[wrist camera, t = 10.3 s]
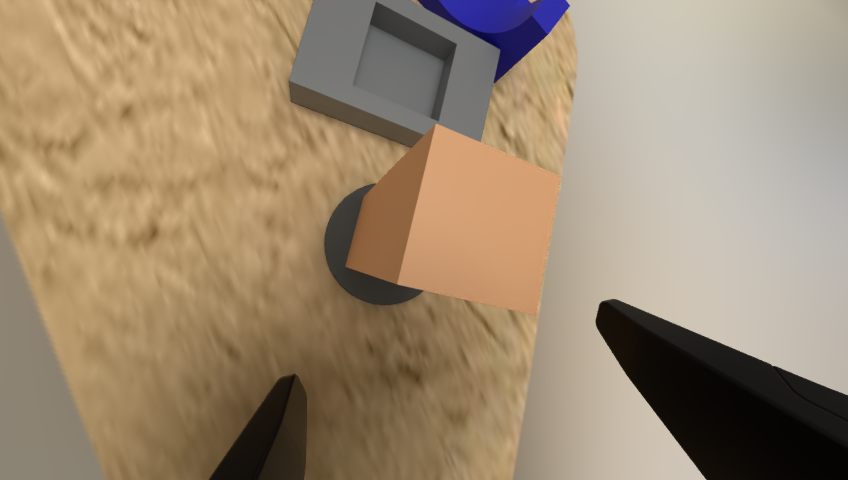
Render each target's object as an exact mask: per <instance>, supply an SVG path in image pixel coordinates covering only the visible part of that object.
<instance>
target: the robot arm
mask: <svg viewBox="0 0 848 480" xmlns="http://www.w3.org/2000/svg"><path fill="white" fill-rule="evenodd" d="M596 326H597V329H598V330H599V332H600V334H601V335H602V337H603V338H604V340H605V342H606V343H607V345H608V346H609V348H610V349H611V351H612V353H613V354H614V356H615V358H616V359H617V361H618V362H619V364H620V366H621V367H622V368H623V370H624V372H625V373H626V375H627V376H628V377H629V379H630V380H631V381H632V383H633V384H634V385H635V386H636V388H637V389H638V391H639V392H640V393H641V395H642V396H643V397H644V398H645V400H646V401H647V403H648V404H649V405H650V406H651V408H652V409H653V410H654V412H655V413H656V414H657V416H658V417H659V418H660V420H661V421H662V422H663V423H664V425H665V426H666V427H667V429H668V430H669V431H670V433H671V434H672V435H673V436H674V438H675V439H676V441H677V442H678V443H679V444H680V446H681V447H682V448H683V450H684V451H685V452H686V453H687V455H688V456H689V458H690V459H691V460H692V461H693V463H694V464H695V465H696V467H697V468H698V469H699V471H700V472H701V473H702V475H703V476H704V477H705V479H706V480H848V395H845V394H843V393H840V392H838V391H835V390H832V389H830V388H827V387H825V386H822V385H820V384H817V383H815V382H812V381H810V380H807V379H805V378H803V377H800V376H798V375H795V374H793V373H790V372H788V371H785V370H783V369H781V368H779V367H776V366H772V365H771V364H769V363H767V362H764V361H762V360H759V359H757V358H755V357H752V356H750V355H747V354H745V353H742V352H740V351H738V350H736V349H733V348H731V347H728V346H726V345H723V344H721V343H719V342H717V341H714V340H712V339H709V338H707V337H704V336H702V335H700V334H697V333H695V332H693V331H690V330H688V329H685V328H683V327H681V326H678V325H676V324H673V323H671V322H669V321H667V320H664V319H662V318H659V317H657V316H655V315H652V314H650V313H647V312H645V311H643V310H640V309H638V308H636V307H633V306H631V305H628V304H626V303H624V302H621V301H619V300H616V299H611V300H606V301H602V302H601V303H600V304H599V308H598V313H597V317H596ZM306 428H307V396H306V392H305V390H304V388H303V386H302V384H301V381H300V379H299V377H298V376H297V375H296V374H292V375H287V376H283V377H281V378H280V379H278V381H277V382H276V384H275V385H274V386H273V388H272V389H271V391H270V392H269V394H268V395H267V397H266V398H265V399H264V401H263V402H262V404H261V405H260V407H259V408H258V409H257V411H256V412H255V414H254V415H253V417H252V418H251V419H250V421H249V422H248V424H247V425H246V427H245V428H244V429H243V431H242V432H241V434H240V435H239V437H238V438H237V440H236V441H235V442H234V444H233V445H232V447H231V448H230V450H229V451H228V452H227V454H226V455H225V457H224V458H223V460H222V461H221V462H220V464H219V465H218V467H217V468H216V470H215V471H214V473H213V474H212V475H211V477H210V478H209V480H304V474H305V464H306Z"/></svg>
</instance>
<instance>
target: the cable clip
mask: <svg viewBox="0 0 848 480" xmlns="http://www.w3.org/2000/svg"><path fill="white" fill-rule="evenodd" d="M418 1H419V2H420V3H421V4H422V5H423V6H424V7H425V8H426V9H427V10H429V11H431V12H432V13H434V14H436V15H438V16H440V17H442V18H443V19H445V20H447V21H449V22H451V23H453V24H454V25H456V26H458V27H460V28H462V29H463V30H465V31H467V32H469V33H471V34H473V35H474V36H476V37H478V38H480V39H482V40H484V41H485V42H487V43H489V44H491V45H493V46H494V47H496V48H498V49H500V55H499V59H498V64H497V69H496V73H495V78H494V83H495V82H496V81H497V80H499V79H500V78H501V77H502V76H503V75H504V74H505V73H506V72H507V71H508V70H510V69H511V68H512V67H513V66H514V65H515V64H516V63H517V62H518V61H519V60H521V59H522V58H523V57H524V56H525V55H526V54H527V53H528V52H529V51H530V50H532V49H533V48H534V47H535V46H536V45H537V44H538V43H539V42H540V41H541V40H542V39H544V38H545V37H546V36H547V35H548V34H549V32H550V31H551V30H552V28H553V27H554V26H555V25H556V23H557V22H558V21H559V19H560V18H561V17H562V15H563V14H564V13H565V11H566V10H567V9H568V8H569V6H570V5H569V4H568V3H567V1H566V0H537V1H535V2H533V3H530V2H529V1H528V0H418Z"/></svg>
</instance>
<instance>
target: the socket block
mask: <svg viewBox="0 0 848 480" xmlns="http://www.w3.org/2000/svg"><path fill="white" fill-rule="evenodd" d="M499 55H500V49H498V48H496V47H494V46H493V45H491V44H489V43H487V42H485V41H484V40H482V39H480V38H478V37H476V36H474V35H473V34H471V33H469V32H467V31H465V30H463V29H462V28H460V27H458V26H456V25H454V24H453V23H451V22H449V21H447V20H445V19H443V18H442V17H440V16H438V15H436V14H434V13H432V12H431V11H429V10H427V9H425V8H423V7H421V6H420V5H418V4H416V3H414V2H412V1H411V0H314V1H313V4H312V7H311V10H310V13H309V17H308V20H307V23H306V26H305V30H304V33H303V36H302V39H301V43H300V46H299V49H298V52H297V56H296V59H295V62H294V65H293V69H292V72H291V75H290V78H289V87H290V97H291V102H293V103H296V104H299V105H301V106H304V107H307V108H309V109H312V110H314V111H317V112H320V113H322V114H325V115H328V116H330V117H333V118H335V119H338V120H341V121H343V122H346V123H349V124H351V125H354V126H356V127H359V128H362V129H364V130H367V131H370V132H372V133H375V134H377V135H380V136H383V137H385V138H388V139H391V140H393V141H396V142H399V143H401V144H404V145H406V146H409V147H413V146H414V145H415V144H416V143H417V142H418V141H419V140H420V139H421V138H422V137H423V136H424V135H425V134H426V133H427V132H428V131H429V130H430V129H431V128H432V127H433V126H434V125H435V124H438V125H441V126H443V127H446V128H448V129H450V130H453V131H455V132H457V133H460V134H462V135H464V136H467V137H469V138H472V139H474V140H476V141H479V142H481V138H482V133H483V129H484V124H485V120H486V115H487V110H488V106H489V101H490V96H491V92H492V87H493V83H494V78H495V73H496V69H497V64H498V59H499Z"/></svg>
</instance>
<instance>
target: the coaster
mask: <svg viewBox="0 0 848 480" xmlns="http://www.w3.org/2000/svg"><path fill="white" fill-rule="evenodd" d="M376 184H377V183H376ZM376 184H371V185H367V186H364V187H362V188H360V189H357V190H356V191H354V192H353V193H351V194H350V195H348V196H347V197H346V198H345V199H344V200H343V201H342V202H341V203H340V204H339V205H338V207H337V208H336V210H335V211H334V212H333V214H332V216H331V218H330V220H329V223H328V226H327V229H326V234H325V254H326V258H327V262H328V265H329V267H330V270H331V272H332V273H333V275H334V277H335V278H336V280H337V281H338V282H339V283H340V285H341V286H342V287H343V288H344V289H345V290H347V291H348V292H349V293H350V294H352V295H353V296H355V297H357V298H358V299H361V300H363V301H365V302H369V303H372V304H378V305H393V304H399V303H402V302H405V301H408V300H410V299H412V298H414V297H416V296H417V295H419V294H420V293H421V292H423V291H424V290H420V289H415V288H411V287H406V286H402V285H397V284H394V283H391V282H388V281H385V280H383V279H380V278H377V277H374V276H371V275H368V274H365V273H362V272H359V271H356V270H353V269H350V268H347V267H345V265H346V261H347V258H348V254H349V250H350V246H351V243H352V239H353V235H354V231H355V227H356V224H357V220H358V216H359V212H360V209H361V205H362V201H363V197H364V196H365V195H366V194H367V193H368V192H369V191H370V190H371V189H372V188H373V187H374V186H375V185H376Z"/></svg>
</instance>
